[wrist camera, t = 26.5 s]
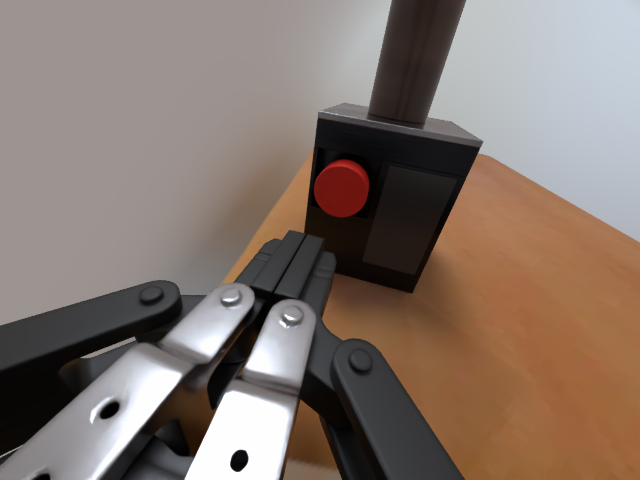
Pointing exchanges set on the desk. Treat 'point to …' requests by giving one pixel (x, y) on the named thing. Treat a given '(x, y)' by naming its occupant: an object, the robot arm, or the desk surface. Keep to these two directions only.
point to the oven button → (342, 188)
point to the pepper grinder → (413, 57)
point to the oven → (389, 191)
